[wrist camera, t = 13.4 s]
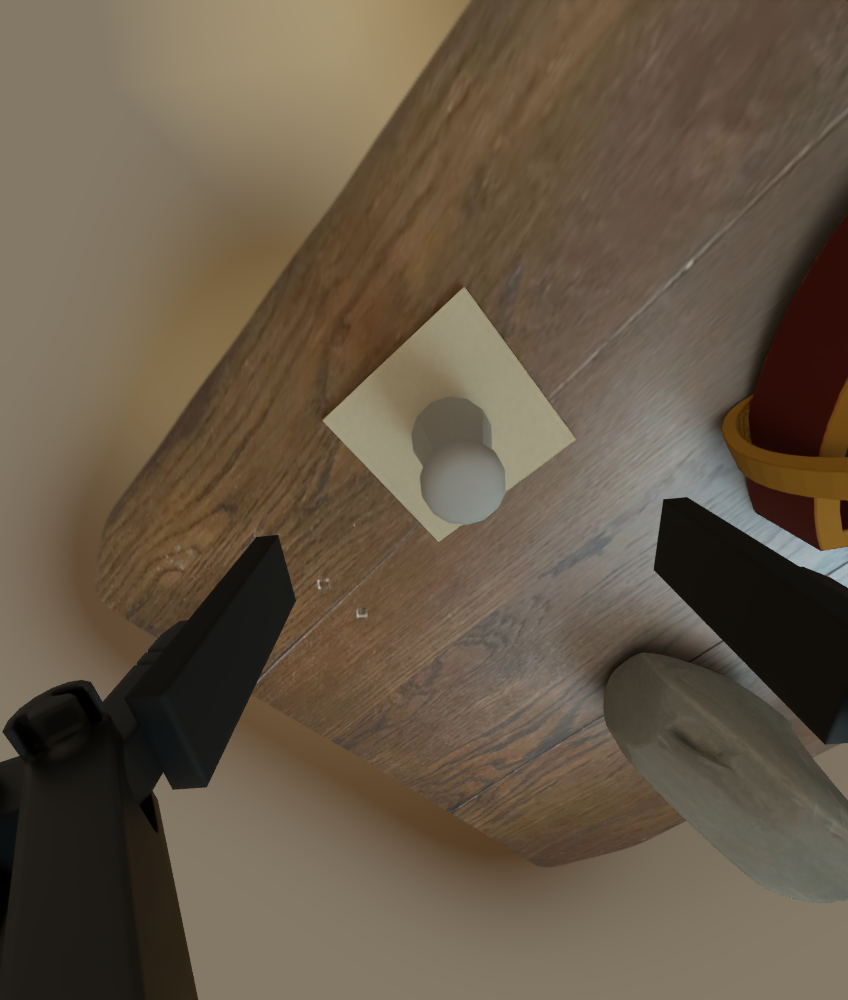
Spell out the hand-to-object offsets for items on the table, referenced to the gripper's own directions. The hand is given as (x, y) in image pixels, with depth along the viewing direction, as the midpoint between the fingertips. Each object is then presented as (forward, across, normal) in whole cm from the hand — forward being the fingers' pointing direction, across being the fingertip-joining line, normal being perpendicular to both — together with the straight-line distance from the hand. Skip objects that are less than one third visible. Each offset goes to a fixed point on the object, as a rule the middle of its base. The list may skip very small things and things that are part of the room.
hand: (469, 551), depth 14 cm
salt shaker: (+19, 0, 0) cm, 19 cm away
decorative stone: (+19, +22, -30) cm, 41 cm away
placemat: (+19, 0, 0) cm, 19 cm away
